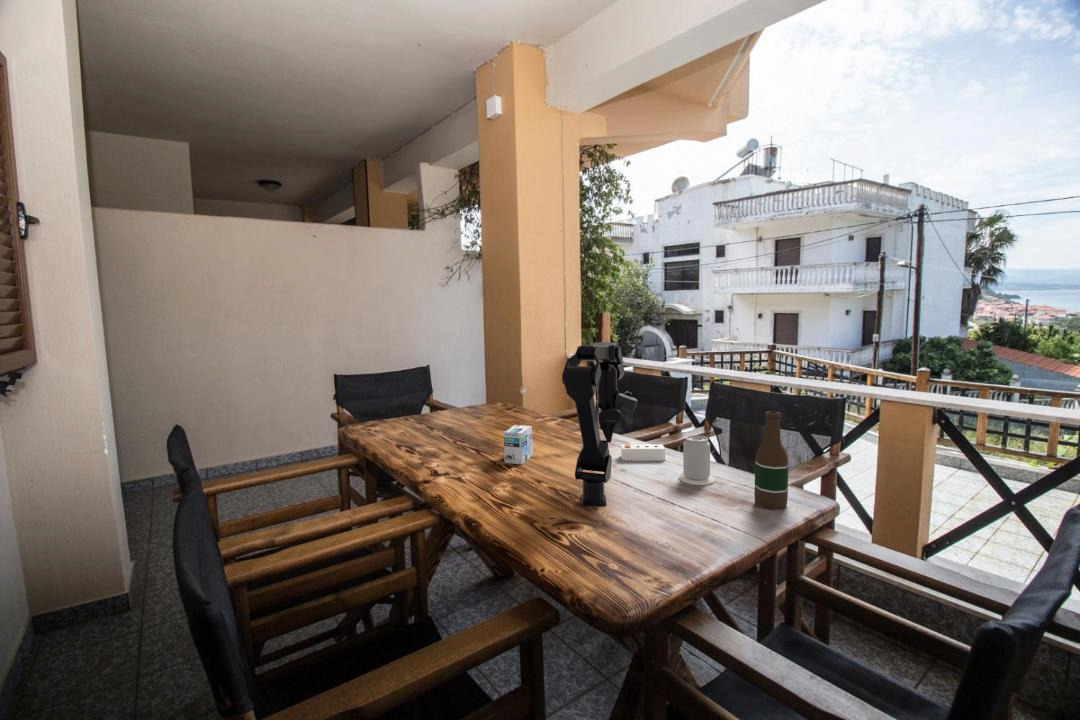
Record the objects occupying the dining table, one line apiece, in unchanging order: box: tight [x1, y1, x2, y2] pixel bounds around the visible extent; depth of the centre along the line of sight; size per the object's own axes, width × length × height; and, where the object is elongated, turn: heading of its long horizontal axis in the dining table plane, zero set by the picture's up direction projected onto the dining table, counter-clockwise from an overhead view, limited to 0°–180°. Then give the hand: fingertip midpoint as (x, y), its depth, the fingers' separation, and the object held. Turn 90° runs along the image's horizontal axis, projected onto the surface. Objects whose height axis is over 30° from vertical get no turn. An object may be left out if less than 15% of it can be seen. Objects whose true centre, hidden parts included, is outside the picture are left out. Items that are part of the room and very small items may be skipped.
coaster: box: [678, 472, 716, 486], centre depth 143 cm, size 10×10×1 cm
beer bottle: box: [754, 410, 790, 511], centre depth 123 cm, size 8×8×24 cm
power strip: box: [620, 443, 666, 462], centre depth 163 cm, size 5×14×5 cm, turn 86°
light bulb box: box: [503, 424, 534, 465], centre depth 166 cm, size 11×7×11 cm, turn 161°
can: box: [682, 435, 711, 481], centre depth 142 cm, size 8×8×12 cm
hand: (607, 437), depth 142 cm, fingers open, 9 cm apart
